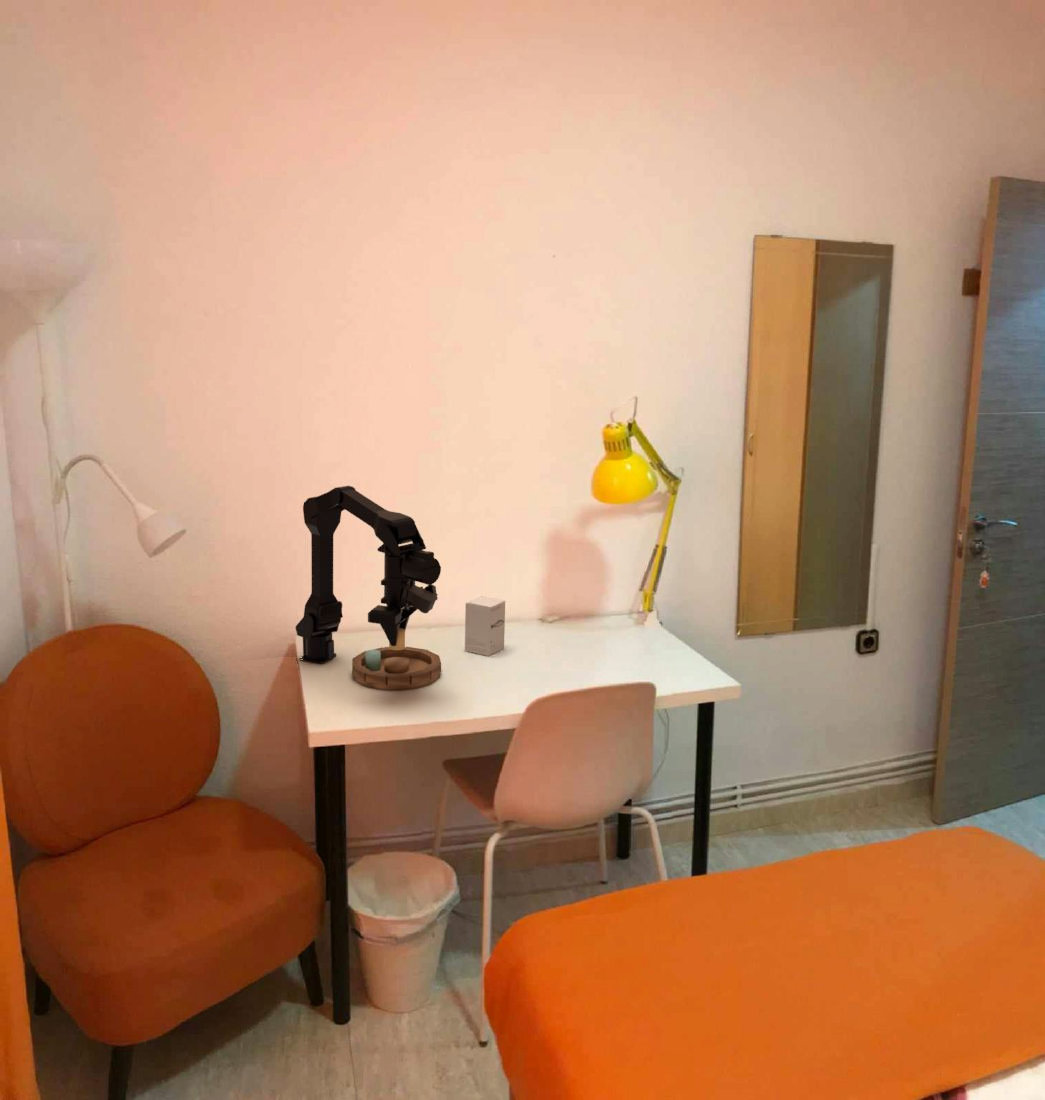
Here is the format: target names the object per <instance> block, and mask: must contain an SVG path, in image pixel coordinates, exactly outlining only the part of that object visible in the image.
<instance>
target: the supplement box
mask: <svg viewBox="0 0 1045 1100" xmlns="http://www.w3.org/2000/svg"><path fill="white" fill-rule="evenodd" d="M464 615H465V616H464V617H465V618H464V619H465V621H464V623H465V624H464V626H465V627H464V629H465V630H464V651H466V652H468V651H469V653H472V652H473V654H476V653H477V654H478V655H481V654H482V655H481V656H486V657H489V656H491V655H492V654H494V653H495V654H496V653H497V652H499V651H501V650H504V649H505V634H506V633H505V631H506V630H505V627H506V625H505V622H506V600H503V599H498V598H493V597H487V596H479V597H477V598H475V599H474V598H473V599H472V600H469V601H467V602H465V614H464ZM477 654H476V655H477Z"/></svg>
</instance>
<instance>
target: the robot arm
mask: <svg viewBox="0 0 1045 1100" xmlns="http://www.w3.org/2000/svg"><path fill="white" fill-rule="evenodd" d="M302 509H303V510H302V512H303V513H302V514H303V521H304V524H305V526H306V527H307V529H308V531H309V532H310V535H311V538H310V539H311V541H310V543H311V546H310V548H311V553H310V554H311V594H310V596H309V597H308V599H307V601H306V602H305V605H304V608H303V609H304V610H303V616H302V618H301V620H299V622H298V623H297V624H296V625H295V627H294V628H295V631H296V635H297V636H298V637H301V638H302V656H301V657H302V658H300V657H299V660H300V659H303V660H305V661H304V662H310V663H317V664H325V663H326V662H328V661H330V660H332V659H333V658H335V657H336V656H337V653H335V640H334V639H333V633H336V632H338V629H339V626H340V624H341V621H342V618H343V617H344V616H343V602H342V601H340V600H338V599H337V597H336V596H335V594H334V534H335V532H336V530H337V528H338V527H339V524H340V523H341V519H342V512H343V511H347V512H348V513H350V514H351V515H352V516H354V517H355V518H358V519H359V520H360V521H362V522H363V523H365V524H366V525H368V526H369V527H371V528H372V529H373V530H374V536H376V538H377V539H378V540H379V541H381V542H382V544H381V545H380V546H379V547H378V548H377V552H380V553H382V554H384V560H383V561H384V562H383V563H384V567H383V568H384V575H383V577H384V578H383V579H381V580H380V585H381V586H384V587H383V588H384V589H383V590H384V591H383V597H382V598H380V604H383V605H380V604H378V605H376V606H375V607H374V608H371V610H370V611H368V613H367V622H368V623H369V624H376V625H377V624H378V625H380V627H381V628H382V630H383V632H384V634H385V635H386V638H387V640H388V643H389V642H390V644H391V646H396V644H397V639H398V632H399V628H402V629H404V630H405V631H406V630H407V626H408V623H409V621H410V617H411V615H413V613H415V612H416V611H417V610H418V611H419V612H421V613H422V614H428V613H429V612H430V611H431V610H433V608H434V605H435V603H436V601H438V595H439V594H438V593H437V587H436V585H434V584H435V583H436V582H437V581H438V579H439V578H440V575H441V571H442V567H441V563H440V562H439V560H438V559H437V558H435V552H433V551H426V549H427V546H426V545H425V542H424V539H423V538H422V535H421V534H420V533H421V532H420V531H419V529H418V527H417V525H416V521H415V520H414V518H412V517H411V516H408V515H406V514H403V513H401V512H396V511H390V510H388V509H386V508H383V507H382V506H380V504H377V502H374V501H373V500H371V499H370V498H368V497H367V496H365V495H364V494H362V493H360V492H359V491H357V490H356V488H355V487H354V486H351V485H343V486H338V487H334V488H332V489H330V490H329V491H328V492H325V493H323V494H320V495H318V496H312V497H308V498H306V500H305V501H304V502H303V505H302ZM416 582H417V583H420V584H425V585H426V586H425V587H423V585H422V586H419V585H416ZM303 660H302V661H303Z"/></svg>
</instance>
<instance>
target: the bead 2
mask: <svg viewBox="0 0 1045 1100" xmlns="http://www.w3.org/2000/svg"><path fill="white" fill-rule="evenodd" d="M388 644H389V645H388V647H389V648H390V649H391V650H403V649H404V648H405V647H406V630H404V629H402V628H399V632H398V639H397V644H396V646H391V644H390V642H389V641H388Z"/></svg>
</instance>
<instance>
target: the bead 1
mask: <svg viewBox="0 0 1045 1100" xmlns="http://www.w3.org/2000/svg"><path fill="white" fill-rule="evenodd" d="M364 652H365V651H364ZM365 655H366V668H367V669H368V670H370V671H378V670H380V669H381V653H380V651H379V650H373V649H369V650H366V652H365Z"/></svg>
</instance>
